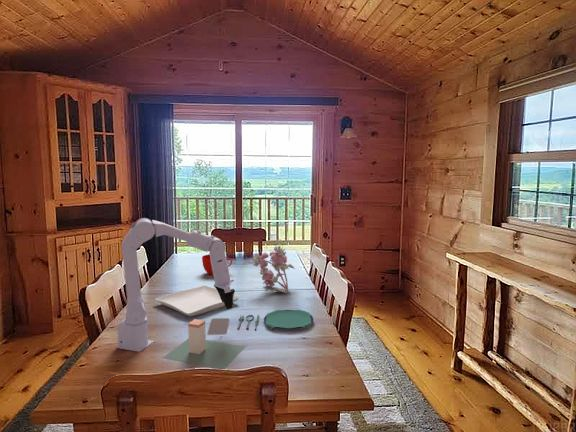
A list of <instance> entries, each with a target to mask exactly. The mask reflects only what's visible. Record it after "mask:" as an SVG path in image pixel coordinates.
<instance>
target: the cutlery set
mask: <svg viewBox="0 0 576 432" xmlns="http://www.w3.org/2000/svg"><path fill="white" fill-rule="evenodd" d="M248 318H252V319H248ZM254 319H255V317H254V315H253V314H248V315H246V317H245V315H240V316H239V318H238V321H239V323H238V324H237V325H238V326H237V328H236V329H237V330H240V328H241V325H242V322H243V321H244V320H246V321H247V325H246V327H245V330H246V331H248V330H249V327H250V322H251V321H253V320H254ZM259 321H260V315H259V314H257V317H256V320H255V326H254V331H257V326H258V324H259ZM263 323H264V324H265V327H266V328H267V329H268V330H269V331H271V330H272V329H277V330H283V331H284V330H286V331H289V330H290V331H291V330H299V329H307V328H309V327H311V326H312V323H314V316H313V315H312V314H311V313H310V312H308V311H306V310H303V309H278V310H277V309H276V310H273V311H271V312H268V313H266V315H265V316H264V317H263Z"/></svg>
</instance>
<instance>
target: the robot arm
mask: <svg viewBox="0 0 576 432" xmlns="http://www.w3.org/2000/svg"><path fill="white" fill-rule="evenodd" d="M154 236H155V238H157V237H161V236H167V237H171V238H174V239H178V240H181V241H184V242H186V245H187V246H188V247H191V248H194V249H197V250H200V251H203V252H209V254H210V258H211V260H210V261H211V266H212V271H213V275H212V276H213V280H214V284H213V288H215V289H217V291H218V293H219V295H220V298H221V300H222V302H224V304H225V306H224V307H225V308H226V310H230V309H233V306H234V304H233V295H235V292H236V290H235V289H234V288H232V289H231V285H232V283H233V282H234V281H235V279H234V278H233V277H232V278H231V275H230V271H229V267H228V265H229V264H228V260H227V259H228V258H227V256H226V249H227V246H226V244H225V243H224V241H222V240H221V239H220V238H218V237H217V236H214V235H212V234H211V235H209V234H208V235H207V234H205V233H202V231H201V230H200V229H197V230H192V231H190V232H188V231H186V230H183V229H180V228H178V227H176V226H174V225H170V224H169V223H168V224H167V223H165V222H164V221H163V222H162V221H158V220H155V219H152V220H151V219H150V218H147V217H141V218H139V219H137V220H136V221H135V222H134V223H133V224H131V226H130V228H129V230H128V232H127V233H126V235H125V237H124V238H123V240H122V242H121V252H122V261H123V270H124V272H123V273H124V278H125V279H124V280H125V290H126V291H125V292H126V299H127V300H126V301H127V303H126V305H125V309H126V310H125V318H124V319H122V320H121V321H120V322H119V323H118V327H117V341H118V342H117V343H118V345H117V346H116V348H117V349H121V350H127V351H132V352H141V351H143V350H144V349H146V348H147V347H149V346H150V345H151V344H153V343H154V342H155V341H154V340H152V339H149V330H148V329H149V328H148V325H149V324H148V316H147V312H146V303H145V301H144V300H143V297H142V292H141V280H140V271H139V260H138V253H137V252H138V251H137V249H138V248H139V247H141V245H143V243H145V242H148V241H149V240H151V239H152V238H153V237H154Z"/></svg>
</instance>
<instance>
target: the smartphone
mask: <svg viewBox="0 0 576 432" xmlns="http://www.w3.org/2000/svg"><path fill="white" fill-rule="evenodd" d="M230 321H231V320H230V318H229V317H222V318H220V317H219V318H216V317H215V318H211V319H210V323H209V326H208V330H207V331H206V332H207V333H206V335H208V336H219V335H223V336H225V335H227V334H228V329H229V325H230Z"/></svg>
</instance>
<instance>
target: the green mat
mask: <svg viewBox="0 0 576 432" xmlns="http://www.w3.org/2000/svg"><path fill="white" fill-rule="evenodd" d="M245 348H246V346H244V345H241V344H239V345H238V344H233V343H226V342H220V341H215V340H210V339H206V349H205V350H204V351H203V352H202V353H200V354H196V353H190V352H189V338H187V339H186V340H184V341H183V342H182V343H180V344H179V345H178V346H176V347H175V348H174V349H173V350H171V351H170V352H168V353H167V354H165V355H164V356H163V357H162V359H167V360H172V361H176V362H182V363H188V364H192V365H198V366H203V367H208V368H213V369H219V370H223V369H224V370H225V369H226V368H227V367H228V366H229V364H231V363H232V361H234V359H235V358H236V357H238V355H239V354H240V353H241V352H242V351H243V350H245Z"/></svg>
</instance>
